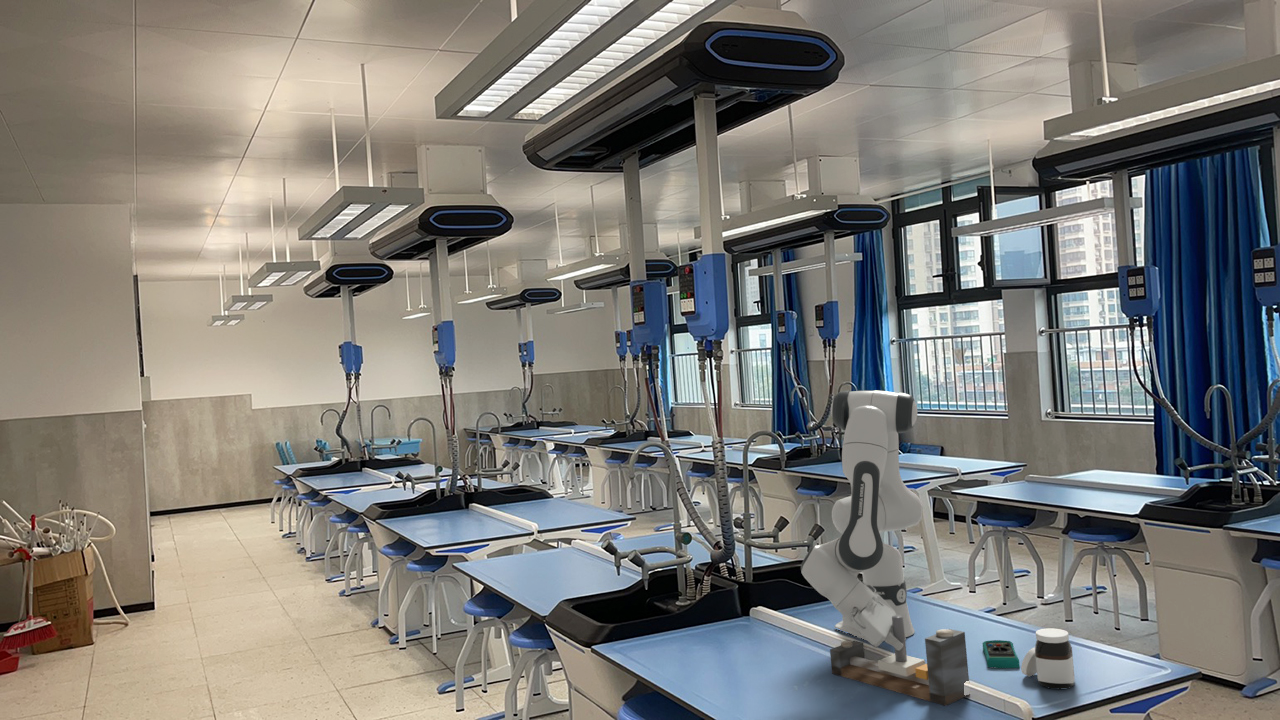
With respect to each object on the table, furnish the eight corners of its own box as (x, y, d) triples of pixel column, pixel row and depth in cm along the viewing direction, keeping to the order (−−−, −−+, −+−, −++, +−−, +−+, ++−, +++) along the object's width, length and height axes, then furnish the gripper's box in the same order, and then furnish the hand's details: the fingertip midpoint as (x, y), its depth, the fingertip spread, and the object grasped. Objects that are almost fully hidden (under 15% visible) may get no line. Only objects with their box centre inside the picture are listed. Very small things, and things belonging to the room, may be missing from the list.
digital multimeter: (1013, 650, 237) (1012, 639, 237) (1020, 670, 223) (1019, 657, 223) (982, 650, 239) (981, 639, 239) (987, 670, 225) (986, 657, 225)
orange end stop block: (916, 677, 212) (915, 668, 212) (929, 671, 215) (928, 662, 215) (927, 679, 210) (926, 671, 210) (940, 674, 213) (939, 665, 213)
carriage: (878, 669, 220) (874, 617, 220) (897, 661, 224) (893, 610, 224) (906, 676, 213) (901, 623, 213) (925, 668, 217) (920, 616, 217)
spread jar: (1073, 693, 205) (1068, 640, 205) (1018, 688, 210) (1013, 637, 210) (1077, 675, 215) (1072, 624, 215) (1025, 671, 221) (1020, 622, 221)
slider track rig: (832, 673, 230) (826, 613, 231) (856, 664, 236) (851, 605, 236) (945, 705, 204) (939, 638, 204) (970, 694, 209) (964, 628, 209)
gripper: (858, 605, 212) (906, 649, 208) (872, 583, 231) (916, 623, 227) (840, 624, 213) (887, 669, 210) (855, 600, 232) (899, 641, 228)
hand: (902, 645), depth 218 cm, fingers closed on carriage, 3 cm apart
